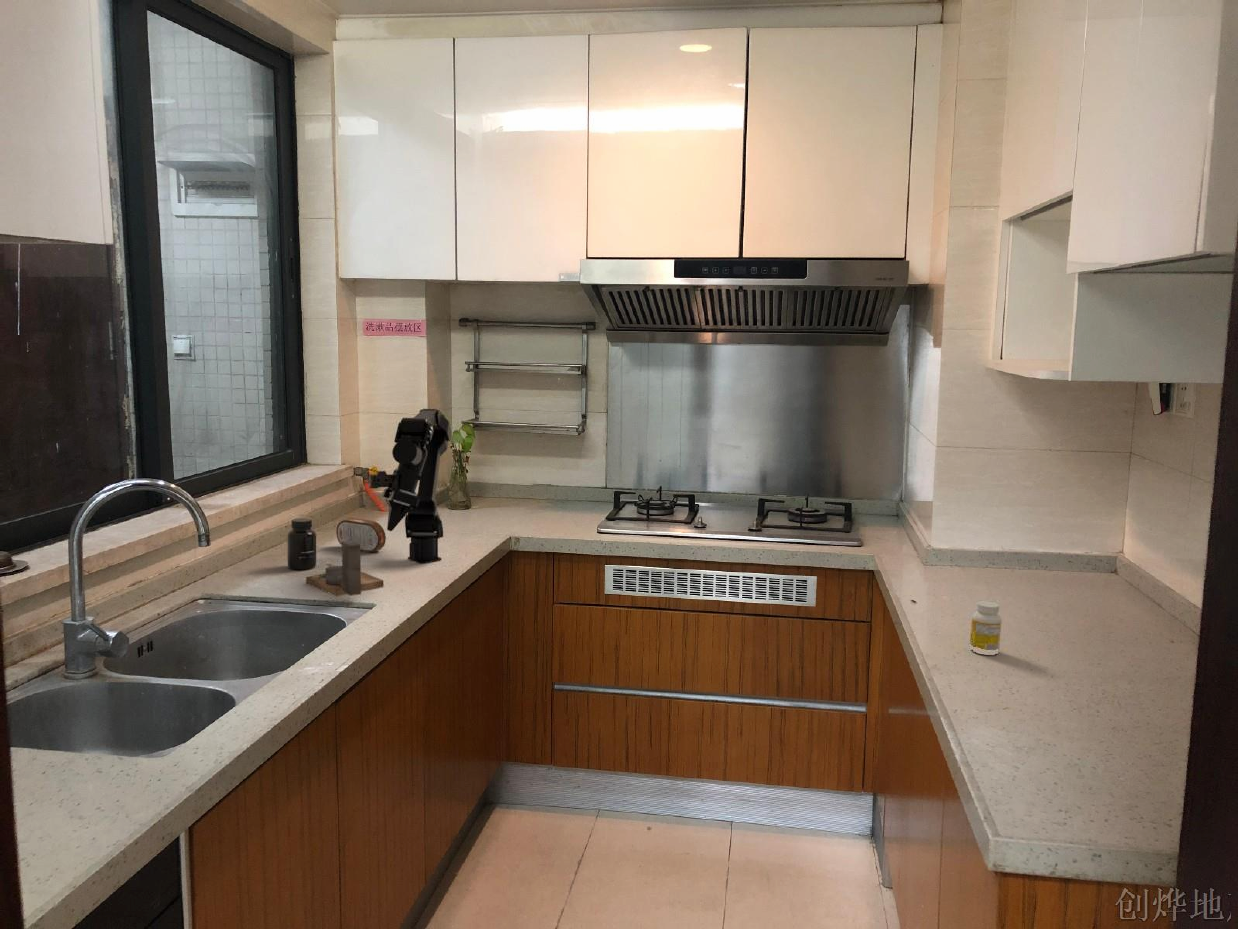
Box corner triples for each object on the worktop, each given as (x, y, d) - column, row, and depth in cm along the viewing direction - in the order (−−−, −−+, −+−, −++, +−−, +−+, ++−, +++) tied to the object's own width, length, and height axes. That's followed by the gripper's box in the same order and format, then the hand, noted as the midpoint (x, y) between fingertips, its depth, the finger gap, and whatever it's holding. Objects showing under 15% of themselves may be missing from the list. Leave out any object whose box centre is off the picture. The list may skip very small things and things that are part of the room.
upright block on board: (316, 575, 218) (315, 529, 216) (337, 573, 220) (337, 527, 219) (344, 596, 202) (343, 546, 200) (366, 593, 205) (366, 544, 203)
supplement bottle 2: (993, 658, 178) (997, 610, 177) (965, 651, 181) (969, 604, 180) (1002, 651, 182) (1006, 604, 181) (975, 645, 186) (978, 598, 184)
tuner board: (352, 574, 226) (352, 566, 226) (383, 586, 216) (383, 577, 216) (306, 583, 218) (306, 574, 217) (335, 596, 208) (335, 587, 208)
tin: (386, 552, 249) (386, 521, 248) (379, 555, 246) (378, 523, 245) (342, 545, 255) (342, 515, 254) (334, 548, 252) (333, 517, 251)
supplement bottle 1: (307, 571, 228) (306, 523, 226) (282, 569, 229) (280, 521, 227) (322, 565, 234) (321, 518, 233) (297, 563, 236) (296, 516, 234)
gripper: (372, 458, 231) (352, 518, 229) (382, 458, 214) (360, 523, 212) (415, 472, 235) (395, 531, 233) (429, 473, 218) (407, 537, 216)
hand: (389, 530), depth 223 cm, fingers closed
